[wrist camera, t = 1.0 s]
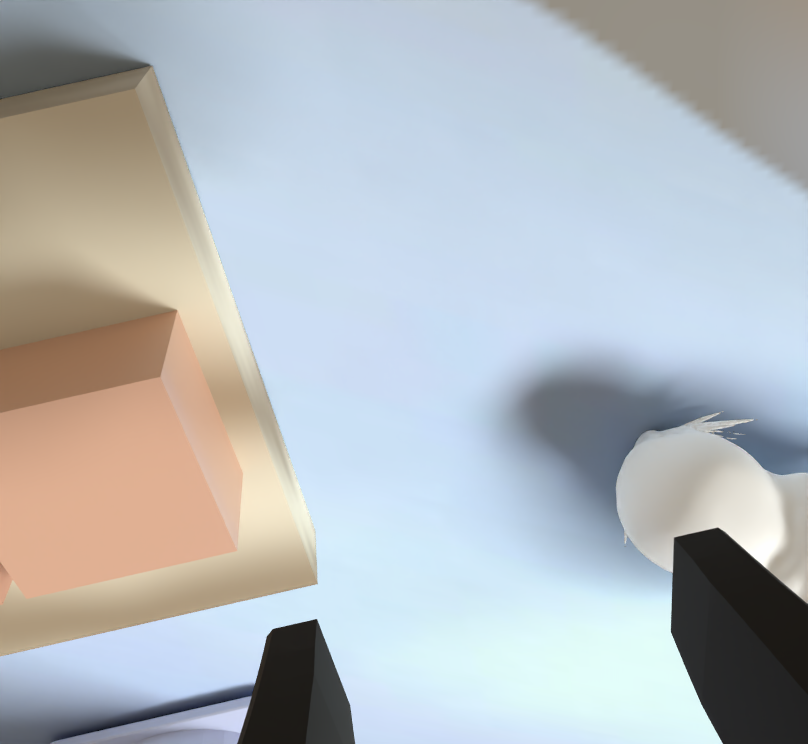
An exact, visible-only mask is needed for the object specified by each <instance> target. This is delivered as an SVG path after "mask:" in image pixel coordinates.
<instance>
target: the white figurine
mask: <svg viewBox="0 0 808 744" xmlns="http://www.w3.org/2000/svg"><path fill="white" fill-rule="evenodd" d="M721 412H723V411H721ZM717 414H720V413H714V414H712V415H708V416H705V417H701V418H699V419H696V420H694V421H691V422H689V423H687V424H684V425H682V426H680V427H676V428H671V429H667V430H664V431H655V430H652V431H646V432H644V433H643V434H642V435H641V436H640V437H639V438H638V439H637V441H636V443H635V446H634V448H633V449H632V450H631V451H630V452H629V454H628V455H627V456H626V458H625V460H624V462H623V465H622V467H621V470H620V472H619V474H618V478H617V482H616V498H617V511H618V515H619V518H620V521H621V523H622V526H623V528H624V543H625V544H626V539H627V538H628V537H629V538H630V540H631V541H632V543H633V544H634V545H635V547H636V548H637V549H638V550H639V551H640V552H641V553H642V554H643V555H644V556H646V557H647V558H648V559H649V560H651V561H652V562H653V563H655V564H656V565H658V566H660V567H661V568H663V569H665V570H667V571H669V572H671V573H673V549H674V537H678V536H682V535H687V534H691V533H695V532H700V531H704V530H709V529H713V528H717V527H718V528H720V529H721V530H723V531H724V532H726V533H727V534H728V535H729V536H730V537H731V538H732V539H734V540H735V541H736V542H737V543H738V544H739V545H740V546H741V547H743V548H744V549H745V550H746V551H747V552H748V553H749V554H750V555H752V556H753V557H754V558H755V559H756V560H757V561H758V562H760V563H761V564H762V565H763V566H764V567H765V568H766V569H768V570H769V571H770V572H771V573H772V574H773V575H774V576H776V577H777V578H778V579H779V580H780V581H781V582H783V583H784V584H785V585H786V586H787V587H788V588H790V589H791V590H792V591H793V592H794V593H796V594H797V595H798V596H799V597H800V598H801V599H803V600H804V601H805V602H806V603H807V604H808V473H794V474H788V475H777V474H774V473H771V472H769V471H767V470H764V469H763V468H762V467H761V465H760V464H759V463H758V462H757V461H756V460H755V459H754V458H753V457H752V456H751V455H750V454H749V453H747V452H746V451H745V450H743V449H742V448H741V447H739V446H737V445H736V444H734V443H732V442H730V441H728V440H726V439H723V438H721V437H723V436H721V435H714V433H713V432H719V431H715V430H716V429H722V428H726V427H730V426H735V424H740V423H746V422H749V421H753V419H744V420H728V421H715V422H704V423H702V422H703V421H706V420H708V419H711V418H712V417H714V416H716V415H717ZM756 420H757V419H756ZM710 430H714V431H710ZM709 432H712V434H710V433H709ZM720 432H722V431H720ZM729 432H730V431H729ZM733 432H734V431H733ZM722 433H723V432H722ZM730 434H731V433H730ZM733 434H735V433H733ZM736 434H738V433H736ZM742 435H746V434H742ZM728 439H735V438H728ZM625 547H626V546H625Z"/></svg>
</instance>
